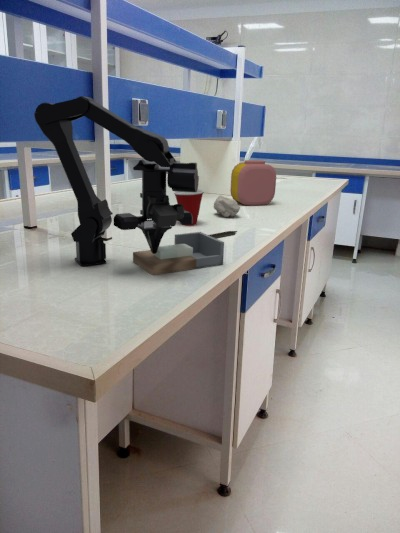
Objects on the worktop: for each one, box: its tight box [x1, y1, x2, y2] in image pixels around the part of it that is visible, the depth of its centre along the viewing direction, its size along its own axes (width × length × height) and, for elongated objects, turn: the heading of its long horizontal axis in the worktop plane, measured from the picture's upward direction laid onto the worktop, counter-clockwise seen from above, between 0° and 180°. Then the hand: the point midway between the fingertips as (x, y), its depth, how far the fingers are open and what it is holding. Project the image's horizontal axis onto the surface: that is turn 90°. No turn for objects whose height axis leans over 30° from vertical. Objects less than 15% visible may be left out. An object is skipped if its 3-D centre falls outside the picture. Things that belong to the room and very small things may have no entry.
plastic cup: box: [173, 189, 205, 226], centre depth 159 cm, size 11×11×12 cm
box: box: [173, 231, 225, 269], centre depth 118 cm, size 8×12×6 cm, turn 30°
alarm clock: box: [229, 159, 277, 206], centre depth 203 cm, size 18×11×19 cm, turn 108°
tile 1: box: [153, 244, 177, 259], centre depth 113 cm, size 4×4×2 cm
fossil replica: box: [213, 195, 241, 218], centre depth 176 cm, size 12×8×10 cm
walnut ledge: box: [132, 249, 197, 276], centre depth 114 cm, size 12×12×2 cm
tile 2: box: [169, 244, 193, 257], centre depth 115 cm, size 4×4×2 cm
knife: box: [208, 230, 238, 239], centre depth 143 cm, size 25×6×1 cm, turn 127°
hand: (153, 253), depth 111 cm, fingers closed
